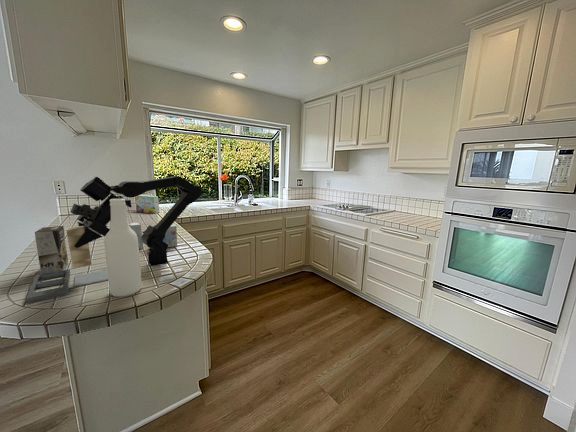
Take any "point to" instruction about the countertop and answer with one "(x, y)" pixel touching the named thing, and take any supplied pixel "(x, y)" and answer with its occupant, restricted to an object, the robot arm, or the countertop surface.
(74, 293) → the countertop surface
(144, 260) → the countertop surface
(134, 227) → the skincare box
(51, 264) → the coffee box
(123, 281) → the alcohol
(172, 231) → the light bulb box
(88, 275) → the mat
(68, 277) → the frame
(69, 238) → the tan wooden block
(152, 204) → the snack box
